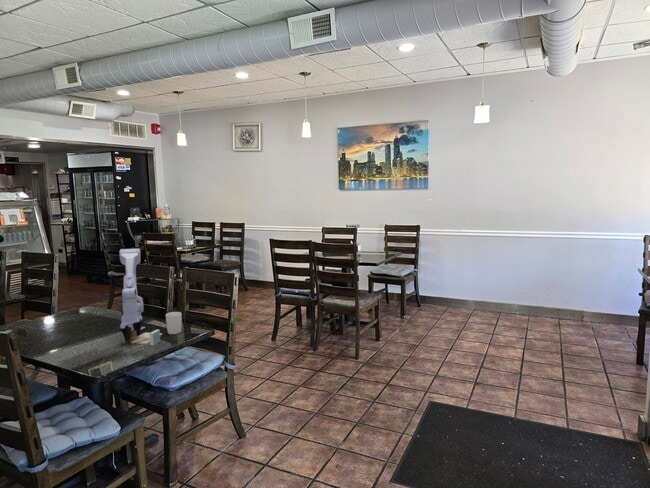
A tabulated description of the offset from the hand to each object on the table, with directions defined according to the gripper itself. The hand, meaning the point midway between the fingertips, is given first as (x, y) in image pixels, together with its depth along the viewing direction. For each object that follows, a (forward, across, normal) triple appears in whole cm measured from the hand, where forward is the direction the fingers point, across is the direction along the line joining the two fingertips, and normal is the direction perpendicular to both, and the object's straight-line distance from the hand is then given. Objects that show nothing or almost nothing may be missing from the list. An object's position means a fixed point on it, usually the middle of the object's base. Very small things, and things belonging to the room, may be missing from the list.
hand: (132, 338), depth 213 cm
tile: (+2, -1, -13) cm, 13 cm away
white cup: (+2, +16, -14) cm, 21 cm away
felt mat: (+1, +8, -4) cm, 9 cm away
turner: (+2, 0, -4) cm, 4 cm away
